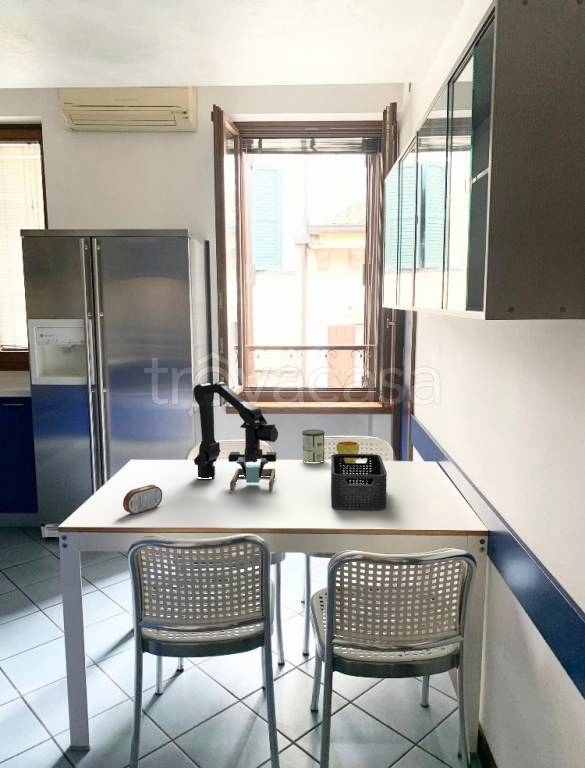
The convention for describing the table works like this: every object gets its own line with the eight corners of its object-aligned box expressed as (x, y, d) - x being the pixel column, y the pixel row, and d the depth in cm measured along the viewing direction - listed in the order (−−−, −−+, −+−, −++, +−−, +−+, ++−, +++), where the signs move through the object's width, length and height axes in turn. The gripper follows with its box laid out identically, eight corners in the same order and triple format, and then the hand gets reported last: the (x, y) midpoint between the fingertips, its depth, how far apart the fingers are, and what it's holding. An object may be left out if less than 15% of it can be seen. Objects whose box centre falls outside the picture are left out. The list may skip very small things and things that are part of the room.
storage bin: (387, 511, 196) (387, 473, 195) (331, 510, 198) (331, 473, 196) (379, 487, 225) (380, 453, 223) (330, 486, 226) (330, 453, 224)
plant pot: (331, 464, 258) (331, 443, 257) (344, 460, 266) (344, 439, 265) (350, 468, 251) (350, 446, 250) (363, 463, 259) (363, 442, 258)
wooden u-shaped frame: (230, 491, 219) (230, 482, 218) (237, 476, 240) (237, 468, 239) (271, 492, 218) (271, 483, 218) (275, 476, 239) (275, 468, 239)
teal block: (246, 482, 224) (245, 467, 223) (247, 479, 229) (247, 464, 228) (258, 482, 224) (258, 467, 223) (259, 479, 229) (259, 464, 228)
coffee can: (309, 457, 271) (309, 428, 270) (328, 460, 266) (328, 430, 264) (298, 462, 263) (298, 432, 261) (317, 465, 257) (317, 434, 256)
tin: (158, 504, 205) (158, 481, 204) (164, 506, 203) (163, 483, 202) (122, 515, 193) (121, 491, 192) (128, 517, 191) (127, 493, 190)
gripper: (225, 443, 216) (226, 483, 218) (274, 444, 216) (275, 483, 218) (230, 437, 228) (230, 475, 229) (276, 437, 227) (276, 475, 229)
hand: (253, 477), depth 226 cm, fingers closed on teal block, 5 cm apart
